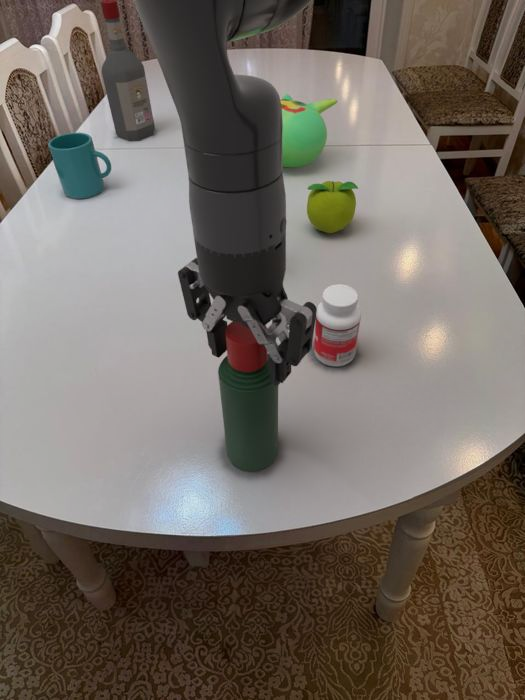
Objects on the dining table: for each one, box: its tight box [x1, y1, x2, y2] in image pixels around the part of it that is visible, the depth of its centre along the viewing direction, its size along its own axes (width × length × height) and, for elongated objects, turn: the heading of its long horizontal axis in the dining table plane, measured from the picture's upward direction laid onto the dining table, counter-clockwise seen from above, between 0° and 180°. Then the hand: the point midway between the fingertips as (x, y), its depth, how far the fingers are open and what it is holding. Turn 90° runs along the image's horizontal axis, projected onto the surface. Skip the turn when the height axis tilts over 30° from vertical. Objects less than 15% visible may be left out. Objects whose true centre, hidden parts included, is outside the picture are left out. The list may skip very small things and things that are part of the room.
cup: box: [47, 132, 112, 200], centre depth 109 cm, size 9×12×11 cm
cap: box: [225, 321, 269, 372], centre depth 50 cm, size 4×4×4 cm
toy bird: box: [280, 93, 339, 168], centre depth 115 cm, size 18×17×15 cm
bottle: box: [217, 353, 279, 472], centre depth 56 cm, size 6×6×19 cm
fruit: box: [306, 180, 359, 234], centre depth 95 cm, size 9×9×10 cm
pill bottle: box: [313, 283, 362, 367], centre depth 70 cm, size 6×6×11 cm
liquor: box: [100, 0, 156, 142], centre depth 125 cm, size 9×9×30 cm
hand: (249, 365), depth 52 cm, fingers open, 6 cm apart
